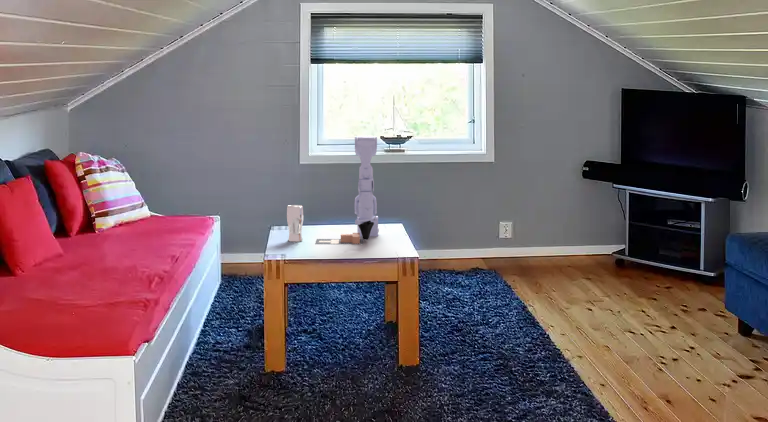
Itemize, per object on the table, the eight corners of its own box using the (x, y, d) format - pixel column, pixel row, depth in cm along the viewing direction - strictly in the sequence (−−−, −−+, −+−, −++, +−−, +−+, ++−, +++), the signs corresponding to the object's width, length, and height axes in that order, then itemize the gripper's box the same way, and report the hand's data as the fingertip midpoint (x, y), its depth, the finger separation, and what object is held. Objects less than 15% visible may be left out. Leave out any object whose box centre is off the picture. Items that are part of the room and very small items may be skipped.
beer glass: (290, 242, 314) (290, 207, 312) (284, 239, 320) (284, 205, 318) (305, 241, 317) (305, 206, 315) (300, 238, 324) (299, 204, 321)
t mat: (363, 239, 322) (363, 239, 322) (363, 245, 310) (363, 244, 310) (316, 239, 321) (316, 238, 321) (314, 245, 309) (314, 244, 309)
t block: (359, 239, 320) (359, 232, 320) (359, 243, 311) (359, 236, 311) (341, 239, 320) (341, 232, 319) (340, 243, 311) (340, 236, 311)
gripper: (366, 204, 322) (366, 235, 324) (348, 208, 309) (348, 241, 311) (380, 205, 319) (380, 237, 321) (363, 210, 306) (363, 242, 308)
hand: (365, 239), depth 316 cm, fingers closed
